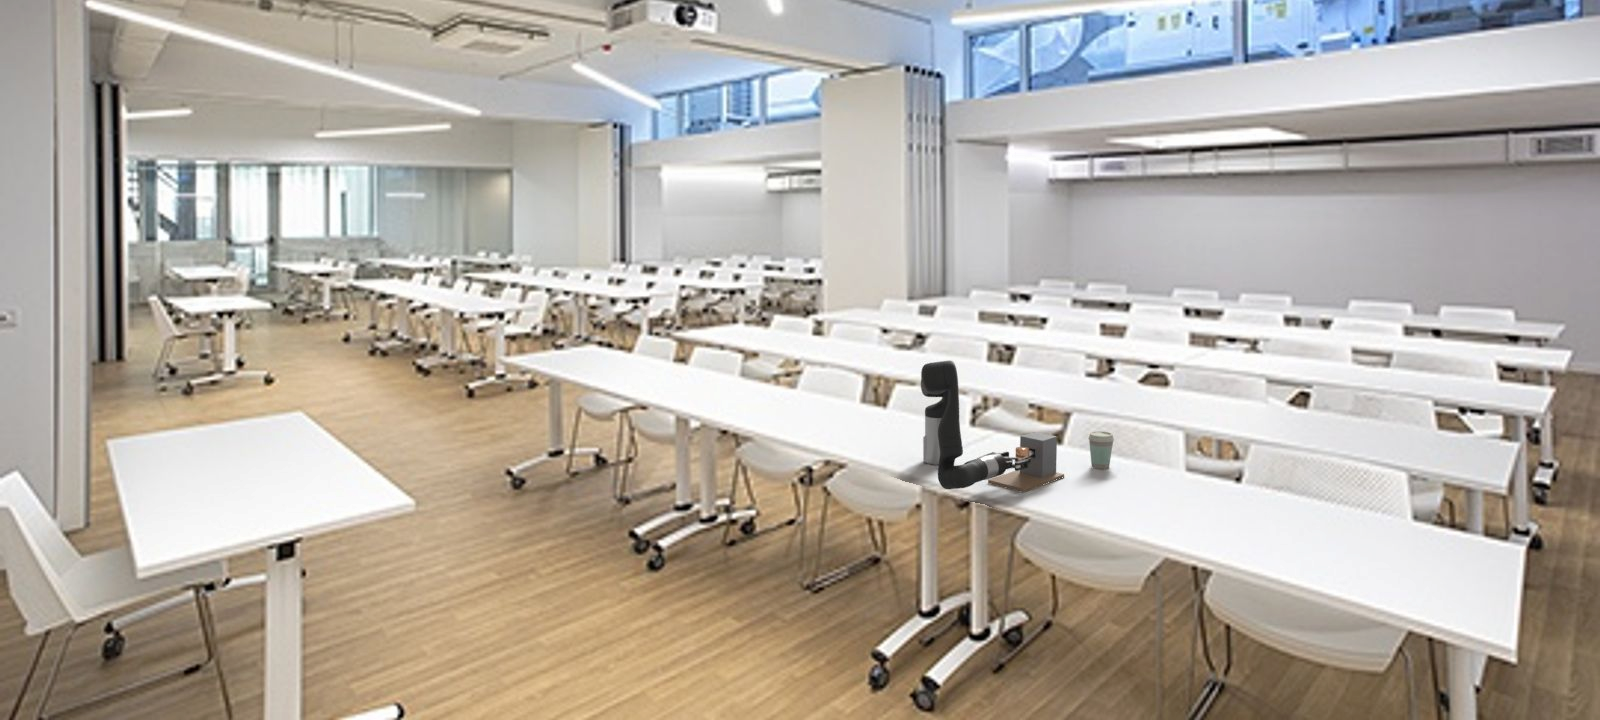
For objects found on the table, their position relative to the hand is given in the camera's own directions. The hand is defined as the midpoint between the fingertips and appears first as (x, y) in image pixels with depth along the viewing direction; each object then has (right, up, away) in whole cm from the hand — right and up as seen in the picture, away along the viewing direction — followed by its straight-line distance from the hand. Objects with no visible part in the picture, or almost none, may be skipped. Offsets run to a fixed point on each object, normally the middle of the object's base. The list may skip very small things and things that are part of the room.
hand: (1018, 457), depth 299 cm
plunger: (+5, -2, +5) cm, 7 cm away
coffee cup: (+33, -6, +18) cm, 38 cm away
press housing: (+4, -8, +4) cm, 10 cm away
